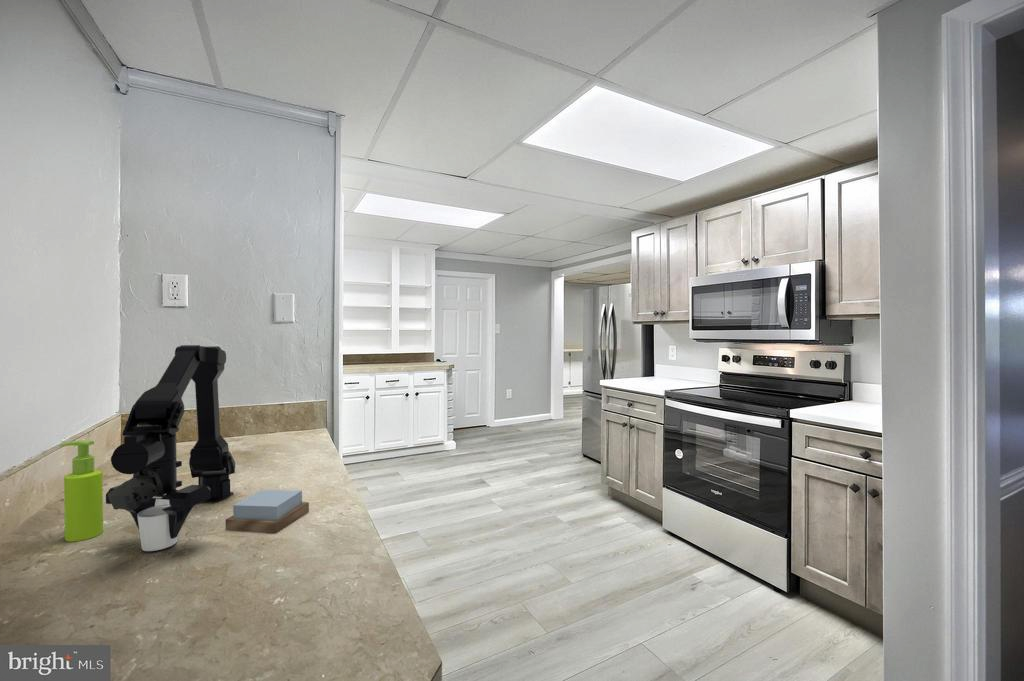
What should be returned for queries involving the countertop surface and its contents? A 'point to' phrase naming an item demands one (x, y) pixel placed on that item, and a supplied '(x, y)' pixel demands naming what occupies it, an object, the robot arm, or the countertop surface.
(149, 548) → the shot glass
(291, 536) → the countertop surface
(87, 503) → the soap dispenser
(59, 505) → the countertop surface
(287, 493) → the tower top
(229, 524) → the tower base
